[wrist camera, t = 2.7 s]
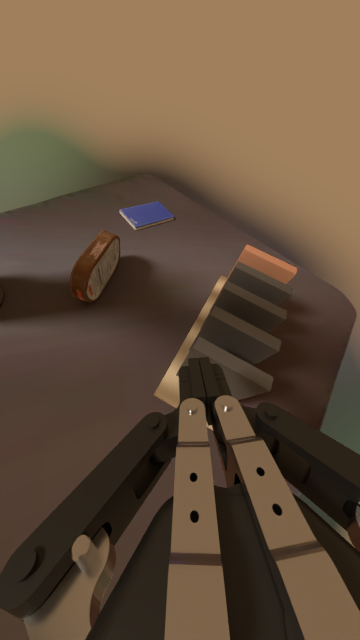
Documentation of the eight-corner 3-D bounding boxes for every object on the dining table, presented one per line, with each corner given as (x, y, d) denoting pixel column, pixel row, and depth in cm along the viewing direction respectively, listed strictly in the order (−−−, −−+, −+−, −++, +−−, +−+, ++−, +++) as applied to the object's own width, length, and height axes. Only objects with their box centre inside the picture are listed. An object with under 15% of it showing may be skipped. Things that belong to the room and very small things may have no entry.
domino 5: (225, 404, 29) (270, 391, 19) (175, 375, 30) (193, 347, 20) (228, 394, 30) (273, 377, 20) (180, 366, 31) (199, 336, 21)
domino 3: (243, 352, 34) (286, 320, 24) (200, 328, 35) (223, 288, 25) (245, 345, 35) (287, 311, 25) (203, 322, 36) (227, 280, 26)
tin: (111, 255, 42) (105, 219, 35) (124, 259, 42) (121, 224, 35) (76, 308, 34) (59, 275, 27) (93, 312, 34) (80, 282, 27)
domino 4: (235, 376, 32) (279, 351, 21) (188, 350, 33) (210, 314, 22) (237, 368, 32) (281, 340, 22) (192, 343, 33) (214, 305, 23)
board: (223, 437, 27) (225, 437, 27) (153, 395, 29) (154, 394, 28) (266, 301, 43) (268, 299, 42) (219, 277, 44) (221, 275, 43)
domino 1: (256, 314, 39) (295, 274, 29) (218, 294, 40) (244, 249, 30) (257, 308, 40) (297, 268, 30) (220, 289, 41) (246, 244, 31)
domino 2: (250, 331, 37) (291, 294, 27) (209, 310, 38) (235, 266, 28) (252, 325, 38) (292, 287, 27) (212, 305, 39) (238, 260, 28)
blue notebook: (135, 226, 47) (174, 216, 52) (119, 208, 49) (157, 200, 54) (135, 232, 48) (173, 221, 53) (119, 214, 50) (157, 205, 56)
